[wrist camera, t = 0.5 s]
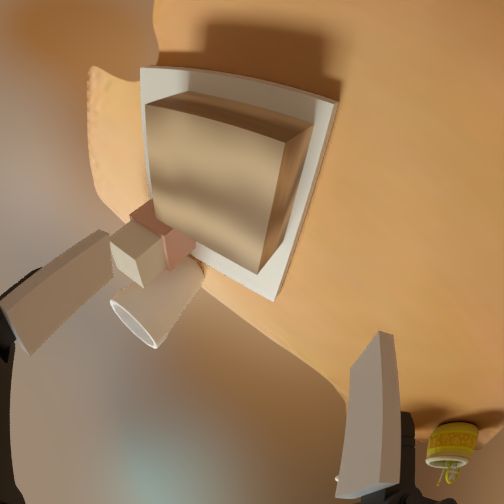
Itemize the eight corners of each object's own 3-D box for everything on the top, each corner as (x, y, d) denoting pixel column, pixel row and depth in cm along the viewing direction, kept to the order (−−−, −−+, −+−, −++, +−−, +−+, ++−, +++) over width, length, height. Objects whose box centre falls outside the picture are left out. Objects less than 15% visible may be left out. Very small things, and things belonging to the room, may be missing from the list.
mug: (433, 418, 34) (413, 476, 26) (484, 417, 26) (469, 478, 19) (431, 437, 38) (413, 485, 31) (473, 437, 31) (459, 487, 23)
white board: (151, 65, 22) (140, 67, 21) (339, 101, 17) (333, 104, 16) (162, 227, 40) (155, 233, 39) (279, 294, 34) (273, 302, 33)
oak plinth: (187, 90, 21) (144, 104, 18) (314, 124, 18) (285, 142, 14) (187, 194, 30) (155, 218, 27) (283, 241, 26) (257, 275, 23)
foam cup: (192, 242, 38) (125, 305, 30) (222, 292, 42) (168, 355, 34) (158, 246, 44) (102, 297, 36) (186, 288, 48) (138, 339, 40)
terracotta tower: (158, 194, 32) (103, 233, 27) (194, 212, 31) (137, 259, 25) (163, 228, 37) (116, 268, 31) (195, 247, 35) (147, 293, 30)
